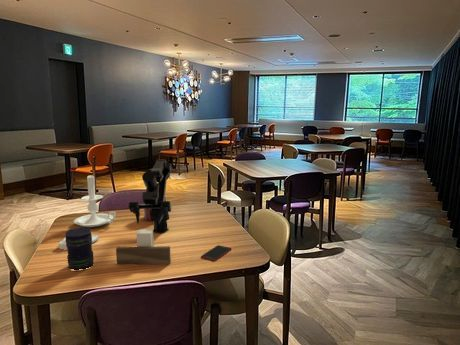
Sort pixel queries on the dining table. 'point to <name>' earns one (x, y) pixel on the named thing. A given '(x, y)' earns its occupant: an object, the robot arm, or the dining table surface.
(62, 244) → the white brass knuckles
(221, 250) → the cell phone
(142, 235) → the off-white cabinet box
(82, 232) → the storage jar
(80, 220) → the candlestick
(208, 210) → the dining table surface
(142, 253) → the stand
